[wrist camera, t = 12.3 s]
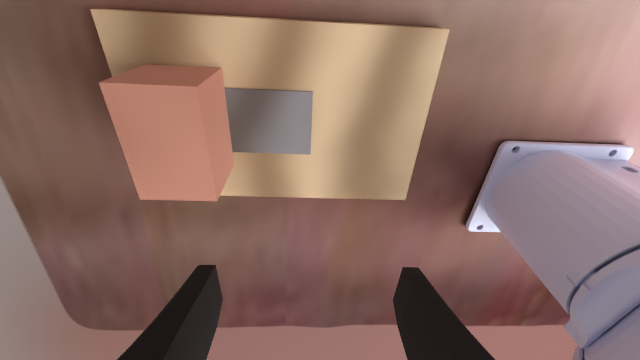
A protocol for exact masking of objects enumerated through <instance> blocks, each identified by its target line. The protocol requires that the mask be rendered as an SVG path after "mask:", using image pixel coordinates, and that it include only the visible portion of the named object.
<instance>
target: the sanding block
mask: <svg viewBox="0 0 640 360" xmlns="http://www.w3.org/2000/svg"><path fill="white" fill-rule="evenodd" d="M99 85H100V88H101V91H102V94H103V96H104V99H105V102H106V105H107V108H108V111H109V113H110V116H111V119H112V122H113V125H114V127H115V130H116V133H117V136H118V139H119V142H120V144H121V147H122V150H123V153H124V156H125V158H126V161H127V164H128V167H129V170H130V173H131V175H132V178H133V181H134V184H135V187H136V189H137V192H138V195H139V198H140V199H142V200H186V201H218V198H219V196H220V194H221V192H222V190H223V188H224V186H225V183H226V181H227V179H228V177H229V175H230V173H231V170H232V168H233V166H234V159H233V151H232V144H231V136H230V128H229V120H228V112H227V104H226V96H225V88H224V80H223V72H222V68H216V67H194V66H173V65H152V64H145V65H142V66H140V67H137V68H135V69H132V70H130V71H127V72H124V73H122V74H119V75H117V76H114V77H111V78H109V79H106V80H104V81H101V82H99Z"/></svg>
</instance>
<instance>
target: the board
mask: <svg viewBox="0 0 640 360" xmlns="http://www.w3.org/2000/svg"><path fill="white" fill-rule="evenodd" d="M90 10H91V13H92V17H93V20H94V23H95V26H96V29H97V32H98V35H99V38H100V41H101V44H102V47H103V50H104V53H105V56H106V59H107V62H108V65H109V69H110V72H111V75H112V77H114V76H117V75H119V74H122V73H124V72H127V71H130V70H132V69H135V68H137V67H140V66H142V65H145V64H152V65H173V66H194V67H216V68H222V72H223V80H224V88H225V96H226V104H227V112H228V120H229V128H230V136H231V144H232V151H233V159H234V166H233V168H232V170H231V173H230V175H229V177H228V179H227V181H226V183H225V186H224V188H223V190H222V192H221V194H220V196H258V197H300V198H341V199H383V200H405V199H406V195H407V192H408V188H409V184H410V180H411V176H412V172H413V169H414V165H415V161H416V157H417V153H418V149H419V146H420V142H421V138H422V134H423V130H424V126H425V123H426V119H427V115H428V111H429V107H430V103H431V99H432V96H433V92H434V88H435V84H436V80H437V76H438V73H439V69H440V65H441V61H442V57H443V53H444V50H445V46H446V42H447V38H448V34H449V30H450V29H445V28H440V27H422V26H404V25H387V24H369V23H351V22H333V21H315V20H298V19H280V18H262V17H244V16H227V15H209V14H191V13H173V12H155V11H138V10H120V9H90Z"/></svg>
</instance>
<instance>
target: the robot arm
mask: <svg viewBox="0 0 640 360" xmlns="http://www.w3.org/2000/svg"><path fill="white" fill-rule="evenodd" d="M514 147H516V148H515V149H514V150H513V151H512V149H513V148H514ZM633 152H634V149H633V147H631V146H628V145H614V144H585V143H557V142H529V141H505V142H503V143H502V144H501V145H500V146H499V148H498V150H497V153H496V155H495V158H494V160H493V162H492V165H491V167H490V169H489V172H488V174H487V176H486V179H485V181H484V183H483V186H482V188H481V190H480V193H479V195H478V197H477V200H476V202H475V204H474V207H473V209H472V212H471V214H470V216H469V219H468V221H467V223H466V228H467V229H468V230H469V231H472V232H501V233H502V234H503V235H504V236H505V238H506V239H507V240H508V241H509V242H510V244H511V245H512V246H513V247H514V249H515V250H516V251H517V252H518V253H519V255H520V256H521V257H522V258H523V259H524V261H525V262H526V263H527V264H528V266H529V267H530V268H531V269H532V270H533V272H534V273H535V274H536V275H537V276H538V278H539V279H540V280H541V281H542V282H543V284H544V285H545V286H546V287H547V289H548V290H549V291H550V292H551V293H552V295H553V296H554V297H555V298H556V299H557V301H558V302H559V303H560V304H561V306H562V307H563V308H564V309H565V310H566V312H567V313H568V314H569V315H570V320H569V321H568V323H567V324H566V325H565V326H564V328H565V329H566V330H567V332H568V333H569V334H570V335H571V337H572V338H573V339H574V341H576V343H577V344H578V347H577V348H576V349H575V352H574V355H573V360H640V167H638V166H636V165H634V164H632V163H630V162H628V159H629V158H630V157H631V155H632V154H633ZM479 225H480V226H479ZM222 300H223V298H222V293H221V289H220V284H219V279H218V275H217V270H216V265H199V266H197V267H196V269H195V270H194V271H193V273H192V274H191V275H190V276H189V278H188V279H187V280H186V282H185V283H184V284H183V285H182V287H181V288H180V289H179V291H178V292H177V293H176V294H175V295H174V297H173V298H172V299H171V300H170V302H169V303H168V304H167V305H166V306H165V308H164V309H163V310H162V311H161V312H160V313H159V315H158V316H157V317H156V318H155V319H154V320H153V322H152V323H151V324H150V325H149V326H148V327H147V328H146V329H145V330H144V332H143V333H142V334H141V335H140V336H139V337H138V338H137V339H136V340H135V341H134V342H133V344H132V345H131V346H130V347H129V348H128V349H127V350H126V351H125V352H124V353H123V354H122V355H121V356H120V357H119V358H118V359H117V360H206V358H207V355H208V353H209V350H210V346H211V343H212V340H213V337H214V334H215V331H216V328H217V324H218V319H219V315H220V310H221V305H222ZM393 303H394V309H395V315H396V320H397V325H398V329H399V332H400V336H401V339H402V342H403V346H404V349H405V353H406V356H407V359H408V360H495V359H494V358H493V357H492V356H491V355H490V354H489V353H488V352H487V351H486V349H485V348H484V347H483V346H482V345H481V344H480V343H479V342H478V341H477V339H476V338H475V337H474V336H473V335H472V334H471V333H470V332H469V330H468V329H467V328H466V327H465V326H464V325H463V323H462V322H461V321H460V320H459V319H458V317H457V316H456V315H455V314H454V313H453V311H452V310H451V309H450V308H449V306H448V305H447V304H446V303H445V301H444V300H443V299H442V298H441V296H440V295H439V294H438V293H437V291H436V290H435V289H434V287H433V286H432V285H431V283H430V282H429V281H428V279H427V278H426V277H425V275H424V274H423V273H422V272H421V270H420V269H419V268H412V267H403V268H402V272H401V275H400V278H399V282H398V285H397V288H396V292H395V295H394V298H393Z"/></svg>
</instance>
